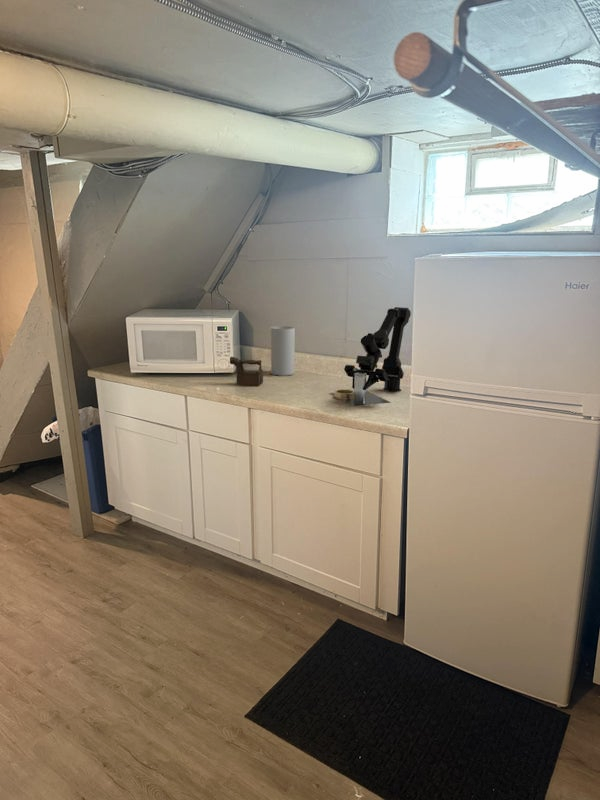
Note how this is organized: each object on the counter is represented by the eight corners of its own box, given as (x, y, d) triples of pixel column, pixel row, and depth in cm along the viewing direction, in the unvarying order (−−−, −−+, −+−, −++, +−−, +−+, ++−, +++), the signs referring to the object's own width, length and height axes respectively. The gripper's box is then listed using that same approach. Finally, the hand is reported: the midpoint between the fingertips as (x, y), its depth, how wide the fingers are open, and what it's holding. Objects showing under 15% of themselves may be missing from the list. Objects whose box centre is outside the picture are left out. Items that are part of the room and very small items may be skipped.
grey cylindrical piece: (362, 400, 240) (363, 371, 237) (367, 403, 236) (368, 373, 232) (351, 401, 239) (352, 372, 235) (356, 404, 234) (357, 374, 231)
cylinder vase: (297, 372, 302) (298, 327, 296) (288, 377, 291) (288, 329, 285) (277, 370, 307) (277, 325, 301) (267, 375, 296) (267, 328, 290)
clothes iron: (234, 381, 280) (233, 355, 277) (264, 383, 277) (264, 356, 273) (228, 384, 273) (228, 357, 269) (259, 386, 269) (259, 359, 266)
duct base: (365, 392, 260) (366, 385, 259) (390, 404, 238) (391, 396, 237) (327, 395, 253) (328, 388, 253) (350, 408, 232) (350, 400, 231)
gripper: (346, 346, 240) (333, 375, 233) (385, 350, 229) (372, 381, 223) (354, 361, 248) (341, 390, 242) (393, 366, 238) (380, 396, 232)
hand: (358, 389), depth 234 cm, fingers closed on grey cylindrical piece, 5 cm apart
